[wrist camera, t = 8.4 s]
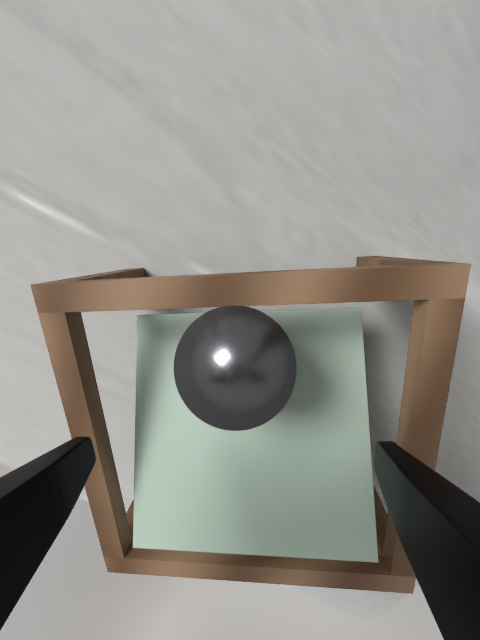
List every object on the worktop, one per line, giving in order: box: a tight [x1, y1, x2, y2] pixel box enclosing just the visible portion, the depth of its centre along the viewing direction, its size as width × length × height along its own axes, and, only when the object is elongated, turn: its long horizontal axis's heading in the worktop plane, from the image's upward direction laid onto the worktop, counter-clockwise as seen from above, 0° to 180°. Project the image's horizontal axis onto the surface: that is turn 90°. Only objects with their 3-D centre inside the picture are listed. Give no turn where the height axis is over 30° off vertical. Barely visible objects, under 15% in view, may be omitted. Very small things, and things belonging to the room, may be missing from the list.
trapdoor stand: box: [31, 256, 471, 593], centre depth 17 cm, size 18×18×8 cm
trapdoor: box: [133, 308, 378, 562], centre depth 16 cm, size 14×14×1 cm
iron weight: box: [173, 305, 297, 431], centre depth 13 cm, size 5×5×6 cm
